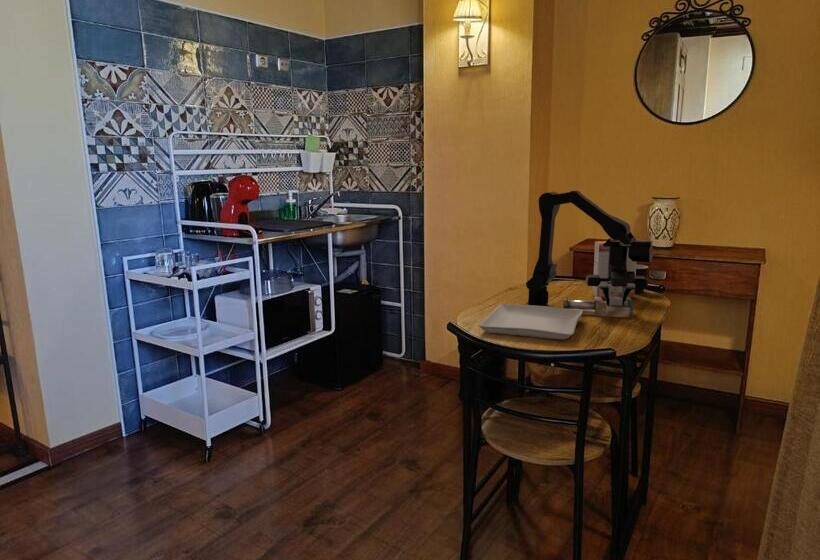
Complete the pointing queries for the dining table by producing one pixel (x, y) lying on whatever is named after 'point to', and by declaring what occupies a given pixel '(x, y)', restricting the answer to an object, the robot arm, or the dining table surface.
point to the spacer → (615, 301)
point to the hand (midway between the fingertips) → (614, 306)
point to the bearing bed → (610, 309)
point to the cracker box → (602, 270)
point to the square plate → (532, 321)
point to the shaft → (579, 304)
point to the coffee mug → (640, 271)
